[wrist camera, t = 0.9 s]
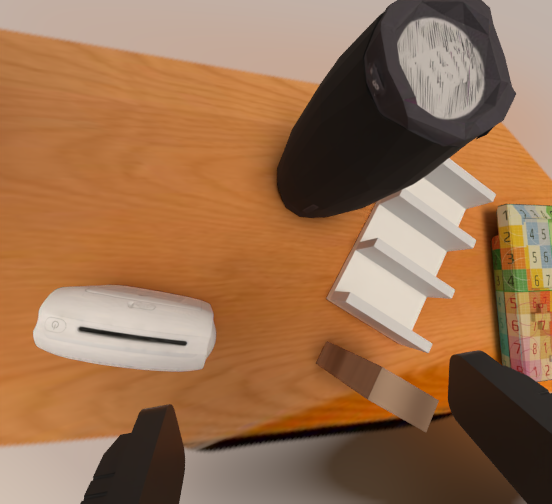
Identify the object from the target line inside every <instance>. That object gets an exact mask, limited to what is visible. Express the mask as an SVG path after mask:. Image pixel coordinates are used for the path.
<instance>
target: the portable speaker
mask: <svg viewBox="0 0 552 504" xmlns="http://www.w3.org/2000/svg"><path fill="white" fill-rule="evenodd" d="M515 95H516V93H515V91H514V90H513V88H512V85H511V81H510V77H509V72H508V68H507V65H506V60H505V56H504V53H503V50H502V48H501V45H500V42H499V39H498V36H497V33H496V31H495V28H494V25H493V21H492V16H491V11H490V8H489V7H488V6H487V5H486V4H485V3H484V2H483V1H482V0H397V1H396V2H394V3H392V4H390V5H389V6H388V7H387V8H386V10H385V12H384V13H382V14H381V15H380V16H379V17H378V18H377V19H376V20H375V21H374V22H373V23H372V24H371V25H370V26H369V27H368V28H367V29H366V30H365V31H364V32H363V33H362V34H361V35H360V36H359V37H358V38H357V39H356V41H355V42H354V43H353V44H352V45H351V46H350V47H349V48H348V49H347V50H346V51H345V52H344V53H343V54H342V55H341V56H340V57H339V59H338V60H337V62H336V63H335V65H334V66H333V67H332V69H331V70H330V71H329V73H328V74H327V76H326V77H325V78H324V80H323V81H322V83H321V84H320V86H319V87H318V89H317V90H316V92H315V94H314V95H313V97H312V98H311V100H310V102H309V103H308V105H307V106H306V108H305V110H304V111H303V113H302V115H301V116H300V118H299V119H298V121H297V123H296V124H295V126H294V127H293V129H292V131H291V134H290V136H289V139H288V142H287V144H286V147H285V149H284V152H283V155H282V157H281V160H280V163H279V165H278V168H277V185H278V188H279V191H280V194H281V197H282V201H283V203H284V205H285V207H286V208H287V209H289V210H290V211H292V212H294V213H295V214H297V215H298V216H300V217H309V218H315V217H329V216H333V215H337V214H341V213H345V212H349V211H353V210H357V209H360V208H363V207H366V206H368V205H370V204H372V203H374V202H376V201H379V200H381V199H383V198H385V197H387V196H389V195H392V194H394V193H396V192H398V191H400V190H402V189H405V188H407V187H409V186H411V185H413V184H415V183H416V182H418V181H419V180H421V179H422V178H424V177H425V176H427V175H428V174H429V173H431V172H432V171H433V170H435V169H436V168H437V167H438V166H440V165H441V164H442V163H443V162H445V161H446V160H447V159H448V158H450V157H451V156H452V155H454V154H455V153H456V152H457V151H459V150H460V149H461V148H462V147H464V146H465V145H466V144H467V143H469V142H470V141H472V140H473V139H475V138H476V139H478V138H480V137H482V136H485V135H487V134H488V132H489V131H490V130H491V129H492V128H493V127H494V126H495V125H497V124H498V123H500V122H502V121H503V120H504V118H505V116H506V114H507V112H508V110H509V108H510V105H511V104H512V102H513V100H514V97H515ZM476 139H475V140H476Z"/></svg>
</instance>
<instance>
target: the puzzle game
mask: <svg viewBox="0 0 552 504" xmlns="http://www.w3.org/2000/svg"><path fill="white" fill-rule="evenodd" d="M496 215H497V225H498V234H499V235H497V236H494V237H493V238H492V241H491V246H492V257H493V268H494V279H495V290H496V301H497V312H498V323H499V334H500V345H501V356H502V364H503V366H504V365H505V366H508V367H510V368H512V369H514V370H516V371H518V372H521V373H523V374H525V375H527V376H529V377H530V378H532V379H533V380H535V381H536V382H540V381H547V380H552V206H547V205H521V204H505V205H501V206H498V209H497V212H496Z"/></svg>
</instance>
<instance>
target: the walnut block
mask: <svg viewBox="0 0 552 504" xmlns="http://www.w3.org/2000/svg"><path fill="white" fill-rule="evenodd" d="M316 364H318V365H319V366H320V367H322V368H323V369H325V370H326V371H328V372H329V373H330V374H332V375H333V376H335V377H336V378H338V379H339V380H341V381H342V382H343V383H345V384H346V385H348V386H349V387H351V388H352V389H353V390H355V391H356V392H358V393H359V394H361V395H362V396H363V397H365V398H366V399H368V400H370V401H371V402H373V403H375V404H377V405H378V406H380V407H382V408H384V409H386V410H387V411H389V412H391V413H393V414H394V415H396V416H398V417H400V418H401V419H403V420H405V421H407V422H408V423H410V424H412V425H414V426H416V427H417V428H419V429H421V430H423V431H424V432H426V431H427V429H428V426H429V424H430V421H431V419H432V416H433V414H434V411H435V409H436V406H437V404H438V401H439V400H437V399H435V398H434V397H432V396H430V395H429V394H427V393H425V392H424V391H422V390H420V389H418V388H417V387H415V386H413V385H412V384H410V383H408V382H407V381H405V380H403V379H402V378H400V377H398V376H397V375H395V374H393V373H392V372H390V371H388V370H386V369H385V368H383V367H381V366H379V365H377V364H375V363H373V362H370V361H368V360H366V359H364V358H362V357H360V356H358V355H355V354H353V353H351V352H349V351H347V350H345V349H343V348H340V347H338V346H336V345H334V344H332V343H330V342H326V344H325V346H324V348H323V350H322V352H321V354H320V356H319V358H318V360H317V362H316Z"/></svg>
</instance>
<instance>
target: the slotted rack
mask: <svg viewBox="0 0 552 504" xmlns="http://www.w3.org/2000/svg"><path fill="white" fill-rule="evenodd" d="M495 196H496V194H495V193H494V192H492V191H491V190H490V189H488V188H487V187H486V186H485V185H483V184H482V183H481V182H479V181H478V180H477V179H475V178H474V177H473V176H472V175H470V174H469V173H468V172H466V171H465V170H464V169H462V168H461V167H460V166H459V165H457V164H456V163H455V162H453V161H452V160H451V159H449V158H448V159H447V160H446V161H445V162H443V163H442V164H441V165H440V166H438V167H437V168H436V169H435V170H433V171H432V172H431V173H429V174H428V175H427V176H425V177H424V178H422V179H421V180H419V181H418V182H416V183H415V184H413V185H411V186H409V187H407V188H405V189H402V190H400V191H398V192H396V193H394V194H392V195H389V196H387V197H385V198H383V199H381V200H379V201H377V202H376V204H375V206H374V208H373V210H372V212H371V214H370V216H369V217H368V219H367V221H366V223H365V225H364V227H363V229H362V231H361V233H360V235H359V237H358V239H357V241H356V242H355V244H354V246H353V248H352V250H351V252H350V254H349V256H348V258H347V260H346V262H345V264H344V265H343V267H342V269H341V271H340V273H339V275H338V277H337V279H336V281H335V283H334V285H333V287H332V289H331V290H330V292H329V294H328V296H327V298H326V299H327V300H329V301H330V302H332V303H333V304H335V305H337V306H338V307H340V308H342V309H343V310H345V311H346V312H348V313H350V314H351V315H353V316H355V317H356V318H358V319H359V320H361V321H363V322H364V323H366V324H367V325H369V326H371V327H372V328H374V329H376V330H377V331H379V332H380V333H382V334H384V335H385V336H387V337H389V338H390V339H392V340H393V341H395V342H397V343H398V344H401V345H404V346H407V347H410V348H414V349H417V350H420V351H423V352H426V353H429V351H430V348H431V346H432V343H431V342H429V341H427V340H426V339H424V338H423V337H421V336H419V335H418V334H416V333H415V332H413V331H412V329H413V327H414V325H415V322H416V320H417V318H418V316H419V313H420V311H421V309H422V307H423V304H424V302H425V300H426V298H427V297H434V298H449V299H452V297H453V294H454V292H455V289H453V288H452V287H450V286H449V285H447V284H446V283H444V282H443V281H441V280H440V279H438V278H437V277H436V275H437V273H438V271H439V268H440V266H441V264H442V262H443V259H444V257H445V255H446V253H447V251H455V250H464V249H472V248H473V247H474V245H475V243H476V240H475V239H474V238H473V237H471V236H470V235H468V234H467V233H466V232H464V231H463V230H461V229H460V228H459V227H458V226H459V223H460V221H461V219H462V217H463V214H464V212H465V210H466V209H468V208H472V207H475V206H479V205H483V204H486V203H490V202H493V200H494V198H495Z"/></svg>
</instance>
